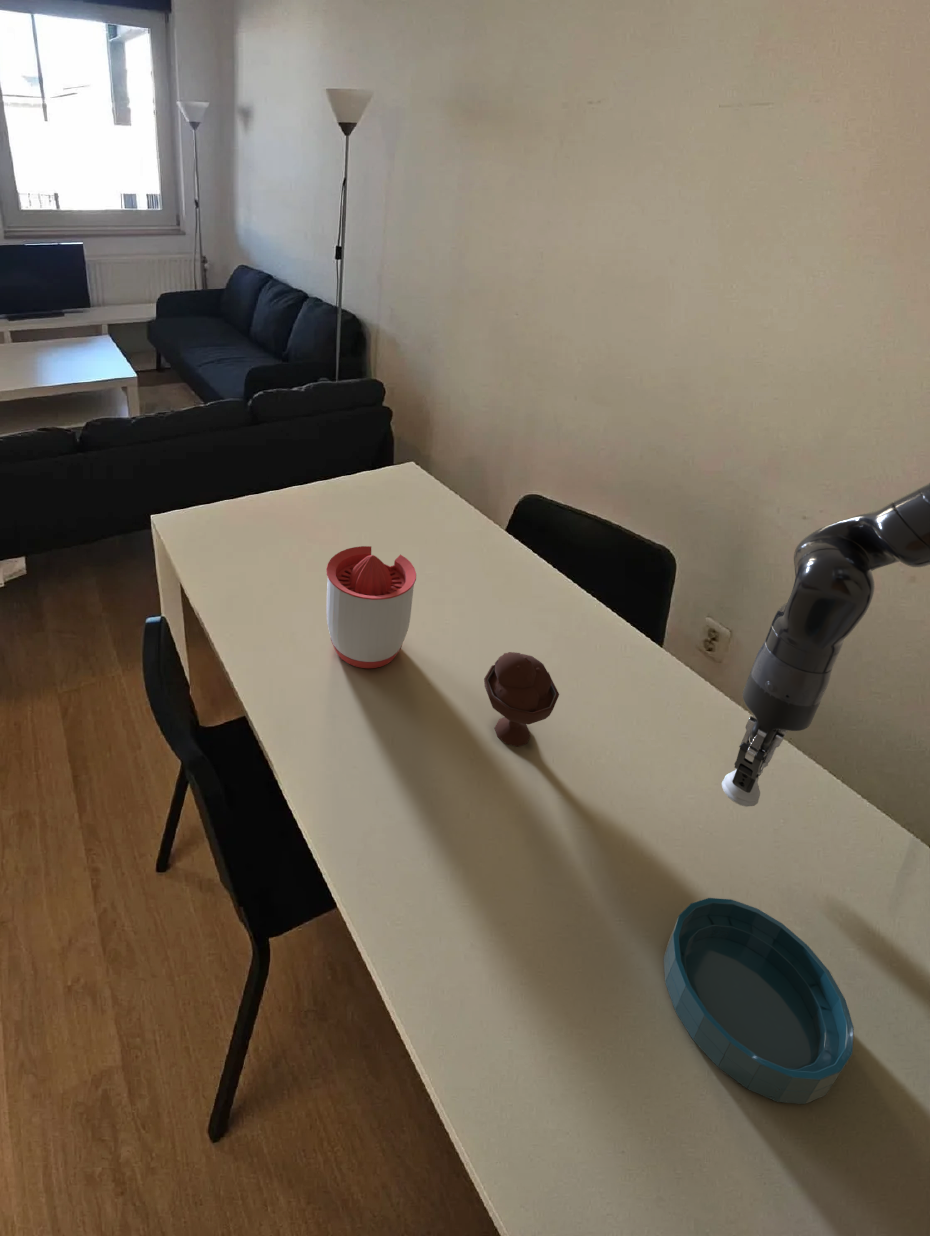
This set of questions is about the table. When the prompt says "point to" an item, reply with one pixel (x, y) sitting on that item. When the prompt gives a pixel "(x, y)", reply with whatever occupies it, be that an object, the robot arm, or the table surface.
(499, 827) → the table surface
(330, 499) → the table surface
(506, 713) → the ice cream bowl
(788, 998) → the shallow round dish
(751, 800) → the rook chess piece
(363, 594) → the citrus juicer
